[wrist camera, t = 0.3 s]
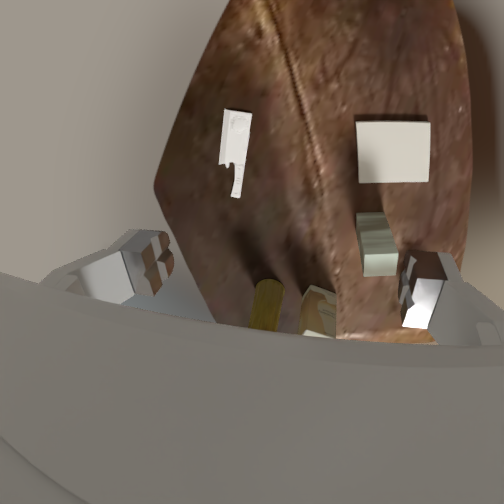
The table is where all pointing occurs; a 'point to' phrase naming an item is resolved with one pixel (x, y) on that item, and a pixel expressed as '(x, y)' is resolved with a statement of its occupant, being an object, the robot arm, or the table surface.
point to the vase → (267, 305)
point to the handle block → (376, 244)
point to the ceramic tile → (393, 151)
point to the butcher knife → (235, 144)
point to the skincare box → (318, 313)
